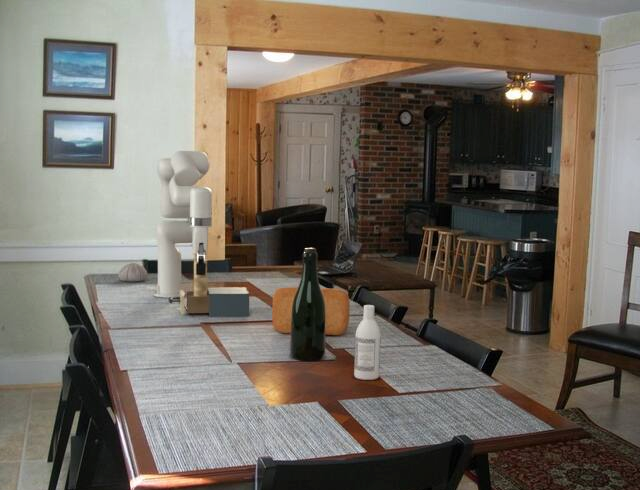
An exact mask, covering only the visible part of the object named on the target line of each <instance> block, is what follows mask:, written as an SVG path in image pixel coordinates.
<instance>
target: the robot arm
mask: <svg viewBox="0 0 640 490" xmlns="http://www.w3.org/2000/svg"><path fill="white" fill-rule="evenodd" d="M210 165H211V164H210V158H209V156H208V155H207V153H206V152H204V151H200V150H199V151H197V150H195V151H194V150H178V151H176V152H174V153H172V155H171V157H165V158H161V159H160V160H158V162H157V166H156V171H157V174H158V178H159V181H160V187H161V189H160V207H159V209H160V214H161V216H162V217H163V218H165V219H166V220H161V221H159V222H158V223H156V225H155V237H156V244H157V245H156V247H157V283H156V285H154V286H151V285H146V291H147V292H153V296H154V297H157V298H161V299H162V298H164V299H169V297H172V298H180V290H182V252H181V250H179V248H178V247H177V246H176V245H177V244H191V253H192V255H193V256H195V259H197V264H196V275H205V270H206V264H205V259H206V256H207V254H208V248H209V247H208V246H209V245H208V244H209V228H212V223H213V221H212V218H213V217H212V215H213V214H212V211H213V210H212V208H213V206H212V205H213V203H212V201H213V192H212V189H211V188H209V187H207V186H203V185H196V184H198V182H199V180H201V179H202V178H203V177H205V175H206V174H208V172H209V170H210ZM167 219H170V220H167ZM171 219H173V220H171ZM174 219H175V220H174ZM176 219H177V220H176ZM178 219H179V220H178ZM180 219H182V220H180ZM185 219H186V220H185ZM184 296H186V292H184Z"/></svg>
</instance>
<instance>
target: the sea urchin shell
mask: <svg viewBox="0 0 640 490" xmlns="http://www.w3.org/2000/svg"><path fill="white" fill-rule="evenodd" d="M117 277H118V279H119V281H122V282H133V283H136V282H144V281H146V280H147V279H148V277H149V274H148V271H147V269H146V268H145V267H144V266H143V265H141V264H139V263H135V262H134V263H132V262H131V263H128V264H127V263H126V264H125V265H123V267H122V268H120V270H119V271H118V275H117Z"/></svg>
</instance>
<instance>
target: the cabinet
mask: <svg viewBox="0 0 640 490" xmlns="http://www.w3.org/2000/svg"><path fill="white" fill-rule="evenodd" d="M207 291H208V293H209V313H207V314H208V317H209V318H219V317H220V318H222V317H225V318H227V317H250V292H249V290H248V289H247V287H245V286H244V287H243V286H240V287H239V286H236V287H235V286H234V287H233V286H232V287H229V286H228V287H221V286H220V287H213V286H212V287H211V286H210V287H208V286H207Z"/></svg>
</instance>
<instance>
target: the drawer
mask: <svg viewBox="0 0 640 490" xmlns="http://www.w3.org/2000/svg"><path fill="white" fill-rule="evenodd" d="M184 293H185V292H184V290H183V289H181V290H180V297H176V298H172V297H169V298H168V302H169V304H173V303H179V311H180V315H185V295H184ZM186 310H187V311H186V312H187V314H208V313H209V293H208V291H207V296H204V297H196V296H194V290H187V291H186Z"/></svg>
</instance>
